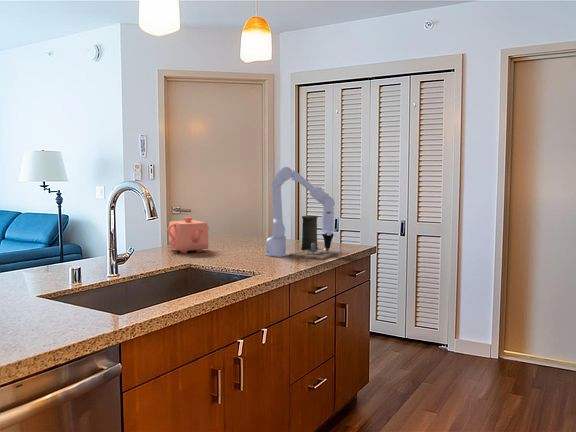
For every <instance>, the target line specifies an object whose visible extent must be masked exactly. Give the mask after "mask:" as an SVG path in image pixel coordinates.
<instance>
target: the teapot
mask: <svg viewBox="0 0 576 432" xmlns="http://www.w3.org/2000/svg"><path fill="white" fill-rule="evenodd" d="M183 218H184V220H174V221H169V225H168V227H167V228H166V229H167V230H166V231H167V234H168V246H169V248H172V249H174V252H180V254H188V253H187V252H189V251H195V252H197V253H203V250H207V249H208V250H209V228H210V227H209V225H208V222H205V221H200V220H196V219H195V220H194V219H193V217H192V216H185V217H183Z"/></svg>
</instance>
